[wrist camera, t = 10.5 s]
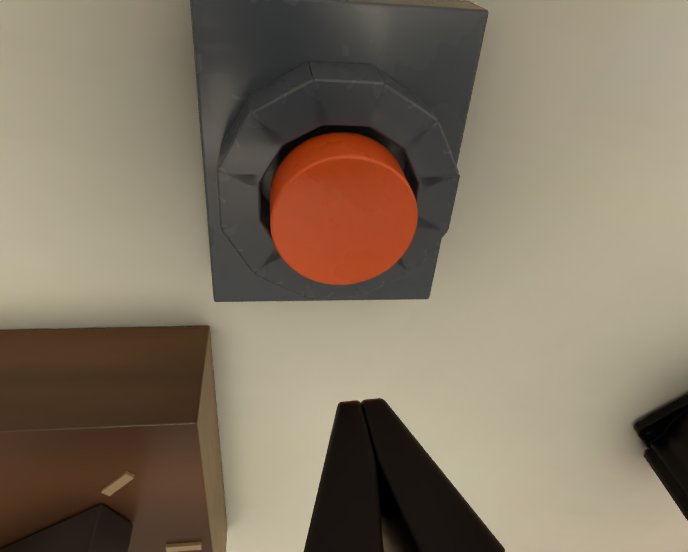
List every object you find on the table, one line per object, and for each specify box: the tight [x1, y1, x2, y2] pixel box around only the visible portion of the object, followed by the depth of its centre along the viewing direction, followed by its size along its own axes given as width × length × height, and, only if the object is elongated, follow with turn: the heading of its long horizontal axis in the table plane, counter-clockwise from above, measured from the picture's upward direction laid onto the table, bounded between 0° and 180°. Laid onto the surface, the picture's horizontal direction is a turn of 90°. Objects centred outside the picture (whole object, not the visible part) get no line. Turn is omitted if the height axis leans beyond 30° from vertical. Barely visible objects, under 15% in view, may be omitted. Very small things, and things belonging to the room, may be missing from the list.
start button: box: [270, 132, 418, 285], centre depth 15 cm, size 4×4×2 cm
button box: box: [190, 0, 488, 302], centre depth 17 cm, size 10×8×4 cm
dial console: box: [0, 326, 227, 552], centre depth 23 cm, size 15×15×5 cm
